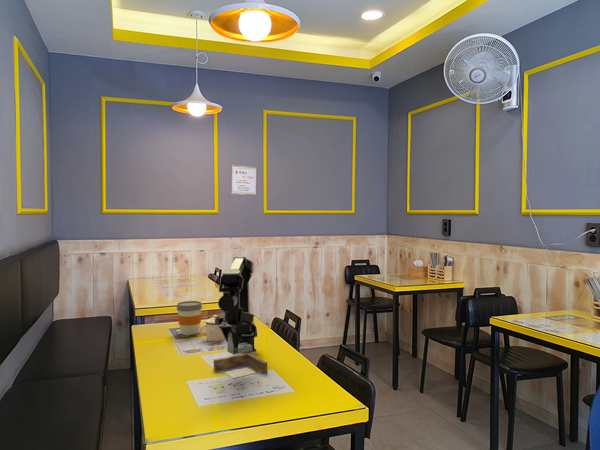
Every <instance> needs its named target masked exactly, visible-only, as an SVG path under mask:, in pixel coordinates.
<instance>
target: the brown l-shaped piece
mask: <svg viewBox="0 0 600 450" xmlns="http://www.w3.org/2000/svg"><path fill="white" fill-rule="evenodd" d="M244 365H248V366H250V367H251V368H253V369H255V370H257V371H258V372H260V373H262V374H264V375H265V374H268V372H269V371H268V361H265V360H264V359H262V358H260V357H257V356H256V355H254V354H252V353H250V352H246V353H239V354H235V355H230V356H225V357H219V358H215V359H213V370H214V371H215V372H217V371H222V370H226V369H230V368H235V367H240V366H244Z"/></svg>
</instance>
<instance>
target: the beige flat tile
mask: <svg viewBox="0 0 600 450" xmlns="http://www.w3.org/2000/svg"><path fill="white" fill-rule="evenodd" d="M223 374H226V375H227V376H229V377H230V378H232V379H233V378H234V379H238V378H241V377H247V376H251V375H254V374H257V371H256V372H255V370H252V369H250V368H249V367H247V366H245V367H242V368H237V369H233V370H229V371H225V372H223ZM237 377H238V378H237Z"/></svg>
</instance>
